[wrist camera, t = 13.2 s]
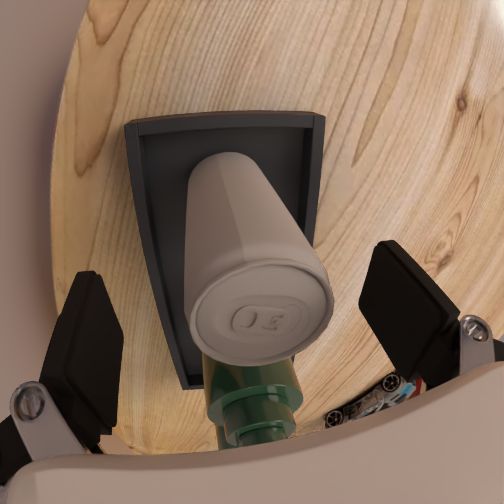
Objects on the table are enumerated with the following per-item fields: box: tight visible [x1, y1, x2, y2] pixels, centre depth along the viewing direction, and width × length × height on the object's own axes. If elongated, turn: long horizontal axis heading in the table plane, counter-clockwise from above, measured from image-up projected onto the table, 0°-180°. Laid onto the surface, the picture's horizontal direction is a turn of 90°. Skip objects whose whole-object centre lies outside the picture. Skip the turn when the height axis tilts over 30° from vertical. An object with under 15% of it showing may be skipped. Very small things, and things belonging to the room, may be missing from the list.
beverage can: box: [184, 152, 334, 366], centre depth 14 cm, size 5×5×12 cm
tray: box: [124, 110, 326, 390], centre depth 23 cm, size 12×26×2 cm, turn 179°
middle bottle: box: [201, 351, 303, 447], centre depth 16 cm, size 5×5×16 cm
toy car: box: [325, 374, 416, 429], centre depth 41 cm, size 7×17×5 cm, turn 134°
